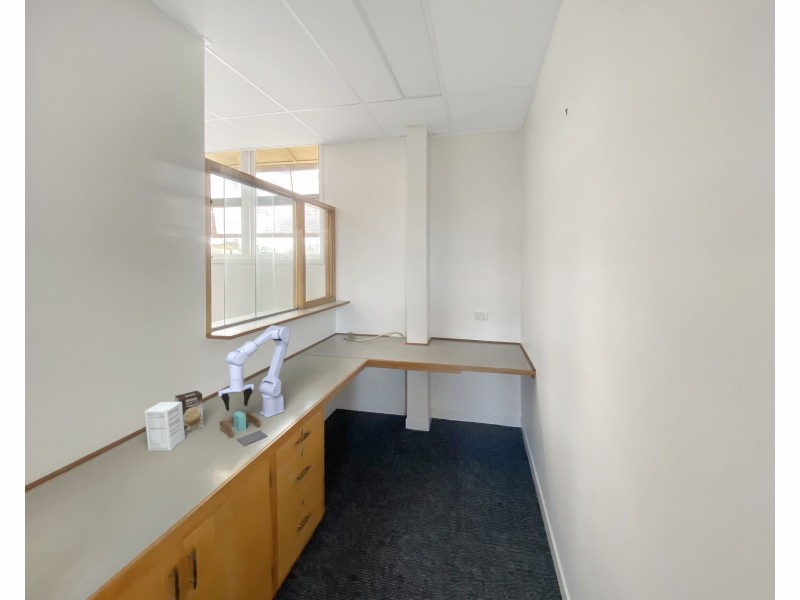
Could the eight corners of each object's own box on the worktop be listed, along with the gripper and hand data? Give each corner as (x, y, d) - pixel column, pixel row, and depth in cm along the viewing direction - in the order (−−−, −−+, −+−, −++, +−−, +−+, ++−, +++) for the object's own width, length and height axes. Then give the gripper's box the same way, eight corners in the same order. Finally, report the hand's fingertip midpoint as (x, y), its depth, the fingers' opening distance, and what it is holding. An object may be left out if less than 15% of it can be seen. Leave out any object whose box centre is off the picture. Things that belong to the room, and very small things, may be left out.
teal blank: (240, 425, 152) (239, 410, 151) (246, 429, 148) (245, 415, 148) (233, 427, 150) (233, 413, 149) (239, 432, 146) (238, 417, 145)
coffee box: (181, 435, 143) (179, 399, 141) (176, 430, 147) (173, 396, 145) (204, 427, 150) (202, 393, 149) (199, 422, 154) (196, 389, 153)
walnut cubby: (248, 419, 158) (248, 411, 157) (259, 427, 150) (259, 419, 150) (220, 429, 148) (219, 421, 147) (229, 438, 141) (229, 429, 140)
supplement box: (185, 438, 140) (183, 401, 138) (170, 451, 131) (167, 411, 129) (163, 438, 140) (160, 400, 138) (147, 450, 131) (143, 410, 129)
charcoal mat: (259, 431, 147) (259, 430, 147) (267, 436, 142) (267, 435, 142) (237, 440, 140) (236, 439, 139) (244, 446, 135) (244, 445, 135)
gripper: (221, 383, 138) (221, 415, 139) (256, 377, 148) (256, 406, 150) (216, 379, 143) (216, 409, 144) (250, 373, 154) (250, 401, 155)
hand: (236, 407), depth 147 cm, fingers open, 7 cm apart
